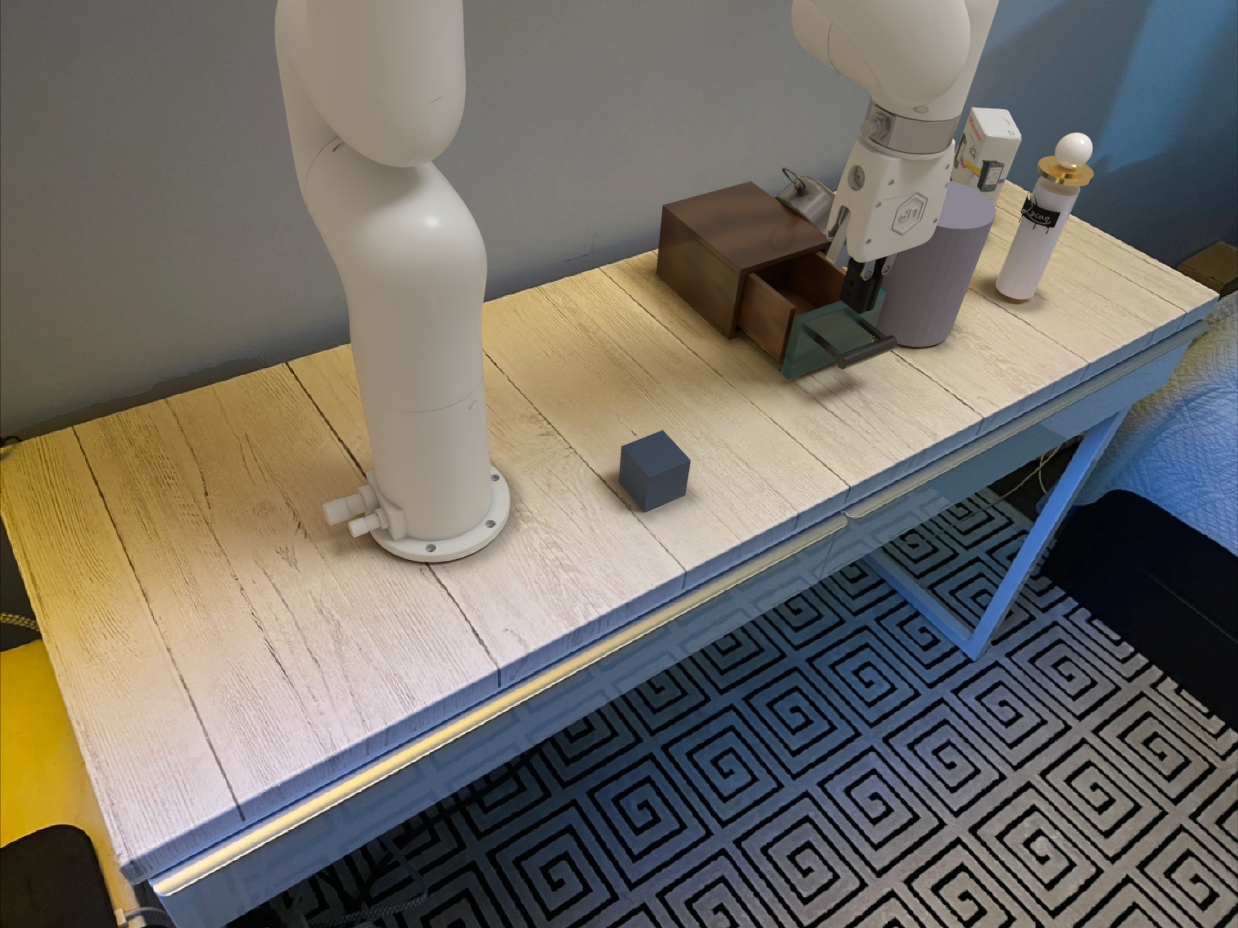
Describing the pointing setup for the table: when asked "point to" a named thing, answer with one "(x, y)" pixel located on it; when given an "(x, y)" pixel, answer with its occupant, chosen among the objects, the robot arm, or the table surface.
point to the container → (936, 271)
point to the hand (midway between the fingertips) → (855, 304)
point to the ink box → (986, 151)
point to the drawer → (808, 316)
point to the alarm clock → (808, 199)
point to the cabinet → (728, 247)
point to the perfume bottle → (1045, 215)
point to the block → (654, 470)
